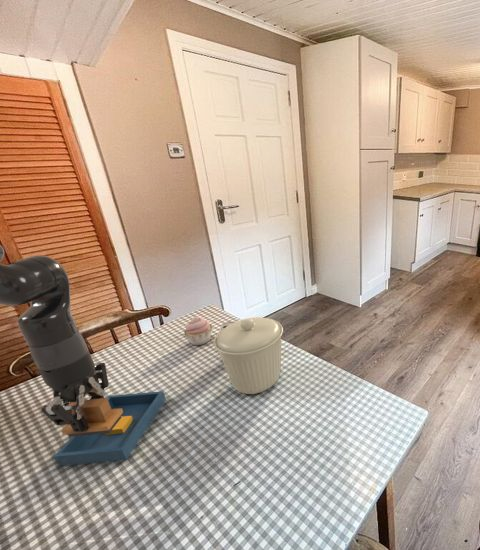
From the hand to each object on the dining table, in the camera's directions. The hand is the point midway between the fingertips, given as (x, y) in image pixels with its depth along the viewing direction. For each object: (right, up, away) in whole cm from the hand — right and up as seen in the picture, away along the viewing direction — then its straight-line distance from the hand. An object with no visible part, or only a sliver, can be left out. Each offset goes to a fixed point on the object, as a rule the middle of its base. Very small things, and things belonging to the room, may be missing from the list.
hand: (92, 419), depth 66 cm
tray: (-1, -7, +8) cm, 10 cm away
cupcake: (0, +8, +43) cm, 44 cm away
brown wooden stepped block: (0, -2, +1) cm, 2 cm away
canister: (+28, 0, +24) cm, 37 cm away
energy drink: (+16, +4, +35) cm, 39 cm away
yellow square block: (-1, -6, +8) cm, 10 cm away
